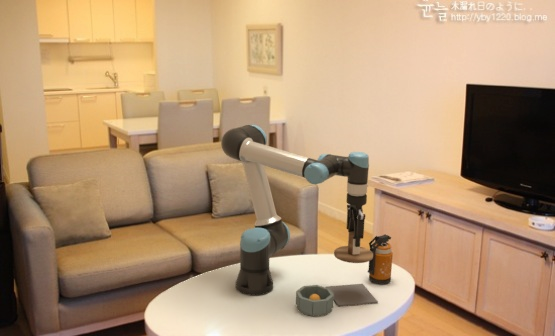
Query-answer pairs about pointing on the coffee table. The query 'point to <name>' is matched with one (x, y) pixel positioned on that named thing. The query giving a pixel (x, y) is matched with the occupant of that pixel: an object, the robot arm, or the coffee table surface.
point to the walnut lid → (347, 256)
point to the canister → (380, 260)
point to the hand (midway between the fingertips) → (353, 251)
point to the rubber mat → (352, 295)
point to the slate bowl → (314, 306)
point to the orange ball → (314, 297)
